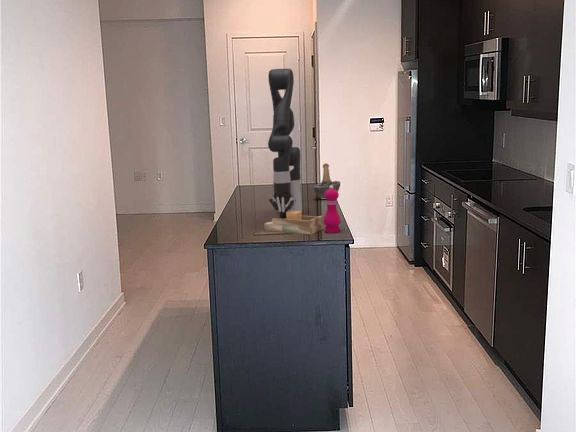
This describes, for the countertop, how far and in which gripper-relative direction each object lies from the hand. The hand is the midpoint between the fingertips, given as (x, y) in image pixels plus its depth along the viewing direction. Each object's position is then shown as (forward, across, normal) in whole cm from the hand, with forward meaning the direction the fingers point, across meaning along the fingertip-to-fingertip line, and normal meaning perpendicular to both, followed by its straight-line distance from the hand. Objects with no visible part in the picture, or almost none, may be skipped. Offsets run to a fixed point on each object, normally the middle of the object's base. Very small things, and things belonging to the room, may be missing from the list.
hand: (283, 219), depth 272 cm
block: (+1, -6, 0) cm, 6 cm away
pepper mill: (+4, -23, -3) cm, 23 cm away
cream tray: (+4, -5, 0) cm, 6 cm away
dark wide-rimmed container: (+4, +16, -80) cm, 81 cm away
